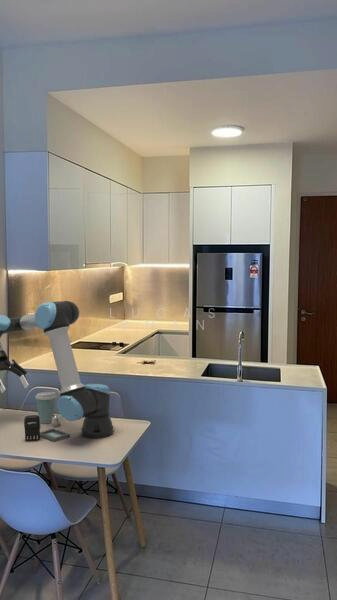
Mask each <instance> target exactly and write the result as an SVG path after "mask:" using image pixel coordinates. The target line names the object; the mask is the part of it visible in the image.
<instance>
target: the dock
mask: <svg viewBox="0 0 337 600" xmlns="http://www.w3.org/2000/svg"><path fill="white" fill-rule="evenodd" d="M70 437H71V433H69V432H66V431H65V430H60V429H57V428H56V427H52V428H50V429H47V430H43V431H40V438H41V439H44V440H47V441H50V442H53V443H55V442H58V441H61V440H64V439H68V438H70Z"/></svg>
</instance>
